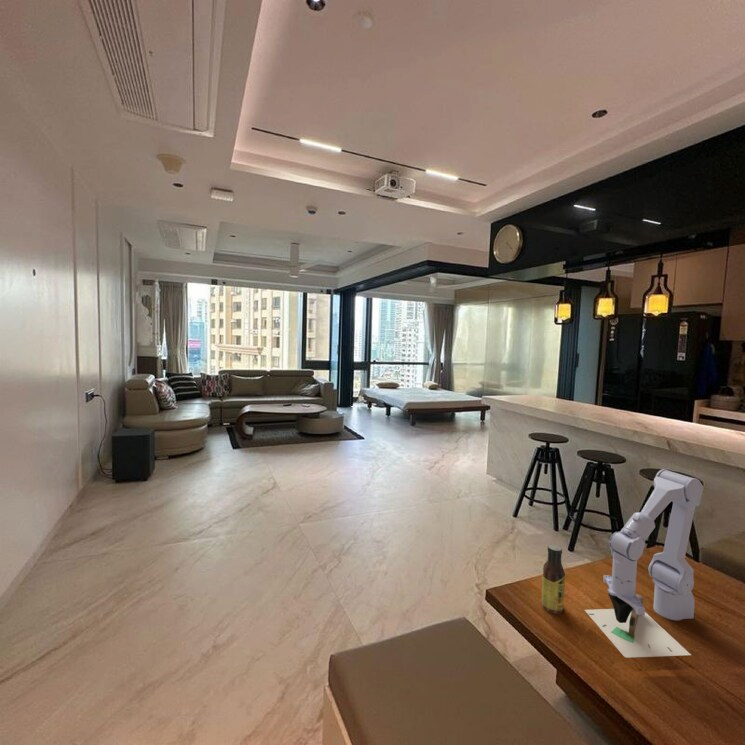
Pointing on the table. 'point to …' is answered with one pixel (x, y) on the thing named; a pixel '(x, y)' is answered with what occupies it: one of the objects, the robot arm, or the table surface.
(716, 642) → the table surface
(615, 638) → the tuner dial board
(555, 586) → the sauce bottle
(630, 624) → the tuning lever
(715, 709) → the table surface
